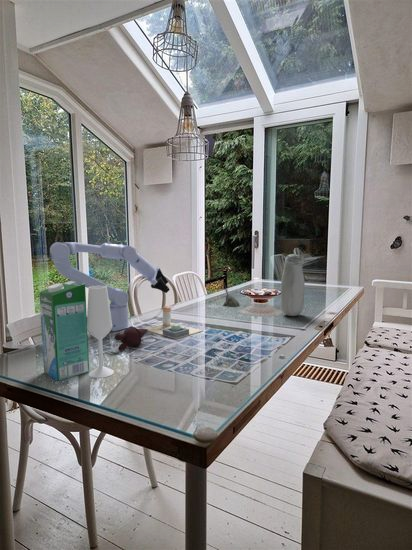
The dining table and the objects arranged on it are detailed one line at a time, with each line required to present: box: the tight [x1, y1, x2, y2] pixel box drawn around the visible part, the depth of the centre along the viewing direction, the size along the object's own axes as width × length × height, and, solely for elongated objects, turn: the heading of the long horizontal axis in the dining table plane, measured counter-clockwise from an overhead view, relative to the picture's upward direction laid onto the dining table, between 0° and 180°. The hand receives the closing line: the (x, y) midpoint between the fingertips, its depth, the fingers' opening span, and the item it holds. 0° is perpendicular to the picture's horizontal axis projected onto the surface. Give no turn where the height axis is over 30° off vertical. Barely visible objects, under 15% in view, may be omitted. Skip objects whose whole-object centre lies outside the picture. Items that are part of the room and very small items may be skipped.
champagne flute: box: [86, 286, 115, 379], centre depth 103 cm, size 7×7×24 cm
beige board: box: [142, 322, 204, 340], centre depth 148 cm, size 14×20×1 cm
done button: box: [171, 323, 182, 332], centre depth 141 cm, size 4×4×3 cm
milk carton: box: [38, 280, 90, 382], centre depth 103 cm, size 9×9×25 cm
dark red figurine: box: [114, 325, 149, 352], centre depth 128 cm, size 7×7×15 cm
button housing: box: [162, 327, 189, 339], centre depth 141 cm, size 7×7×2 cm
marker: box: [162, 306, 172, 326], centre depth 154 cm, size 3×3×8 cm
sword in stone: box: [222, 282, 241, 308], centre depth 195 cm, size 10×8×12 cm
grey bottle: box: [280, 253, 305, 317], centre depth 170 cm, size 10×10×28 cm
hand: (167, 287), depth 160 cm, fingers open, 7 cm apart
